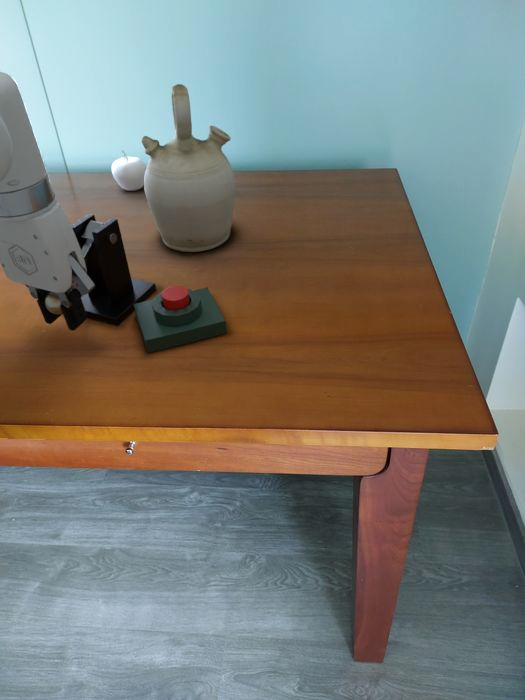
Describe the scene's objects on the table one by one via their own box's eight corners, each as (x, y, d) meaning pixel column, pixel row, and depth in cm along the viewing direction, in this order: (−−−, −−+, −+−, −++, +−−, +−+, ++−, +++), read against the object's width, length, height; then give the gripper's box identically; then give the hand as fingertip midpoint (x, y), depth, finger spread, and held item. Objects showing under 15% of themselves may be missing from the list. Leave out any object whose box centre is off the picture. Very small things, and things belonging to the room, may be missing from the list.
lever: (68, 321, 70) (54, 309, 67) (49, 315, 71) (35, 303, 68) (115, 235, 74) (104, 221, 71) (97, 232, 75) (85, 217, 72)
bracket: (117, 325, 75) (96, 245, 67) (68, 312, 78) (41, 233, 70) (156, 289, 82) (141, 212, 74) (109, 278, 85) (90, 203, 77)
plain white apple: (118, 182, 115) (110, 145, 110) (151, 180, 116) (144, 143, 110) (113, 195, 110) (104, 157, 105) (147, 193, 110) (140, 155, 105)
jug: (243, 216, 100) (234, 71, 84) (232, 258, 88) (219, 98, 72) (164, 216, 101) (140, 73, 85) (144, 257, 90) (111, 100, 74)
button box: (147, 353, 70) (142, 329, 67) (136, 316, 76) (130, 293, 74) (226, 333, 73) (224, 309, 70) (208, 299, 79) (206, 276, 77)
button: (166, 313, 70) (164, 303, 69) (161, 299, 73) (159, 289, 72) (192, 307, 71) (191, 296, 70) (186, 294, 74) (184, 283, 73)
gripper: (-60, 198, 60) (2, 323, 72) (52, 221, 54) (98, 353, 66) (-10, 172, 65) (40, 293, 77) (97, 190, 59) (132, 318, 71)
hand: (66, 320), depth 72 cm, fingers closed on lever, 3 cm apart
